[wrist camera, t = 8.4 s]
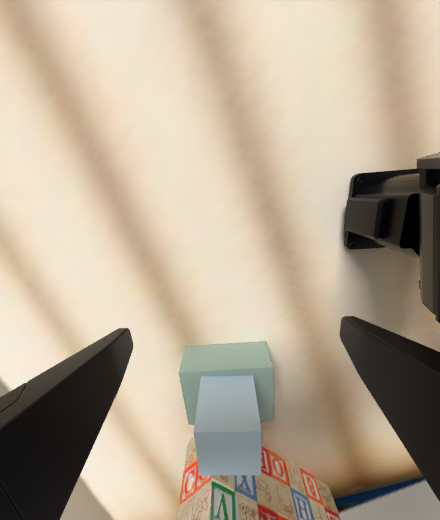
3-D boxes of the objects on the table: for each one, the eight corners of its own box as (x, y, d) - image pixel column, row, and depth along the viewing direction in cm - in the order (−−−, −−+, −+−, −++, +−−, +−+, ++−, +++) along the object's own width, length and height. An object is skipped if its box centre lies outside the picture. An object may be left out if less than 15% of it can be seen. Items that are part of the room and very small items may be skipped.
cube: (253, 375, 20) (261, 431, 16) (253, 413, 22) (261, 475, 17) (200, 376, 20) (193, 432, 16) (204, 414, 22) (199, 475, 17)
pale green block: (265, 339, 24) (272, 367, 20) (266, 387, 26) (274, 420, 22) (186, 344, 24) (178, 372, 20) (194, 391, 26) (188, 424, 22)
